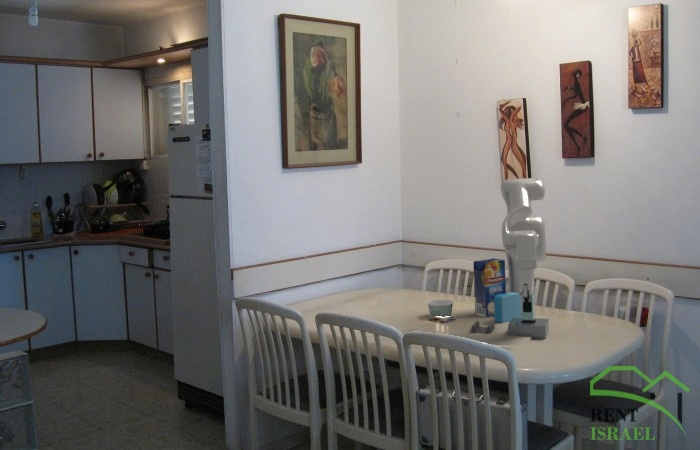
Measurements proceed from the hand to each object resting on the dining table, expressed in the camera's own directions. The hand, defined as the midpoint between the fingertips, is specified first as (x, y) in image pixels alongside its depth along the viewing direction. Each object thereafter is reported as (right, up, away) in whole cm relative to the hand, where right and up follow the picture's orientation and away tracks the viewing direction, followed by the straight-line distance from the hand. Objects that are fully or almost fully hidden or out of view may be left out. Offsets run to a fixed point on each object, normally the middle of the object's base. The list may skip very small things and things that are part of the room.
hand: (528, 310), depth 286 cm
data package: (-3, -8, +23) cm, 24 cm away
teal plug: (0, -3, 0) cm, 3 cm away
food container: (-29, -8, +40) cm, 50 cm away
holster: (-16, -10, +7) cm, 20 cm away
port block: (+1, -10, +1) cm, 10 cm away
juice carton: (-7, -6, +40) cm, 41 cm away
